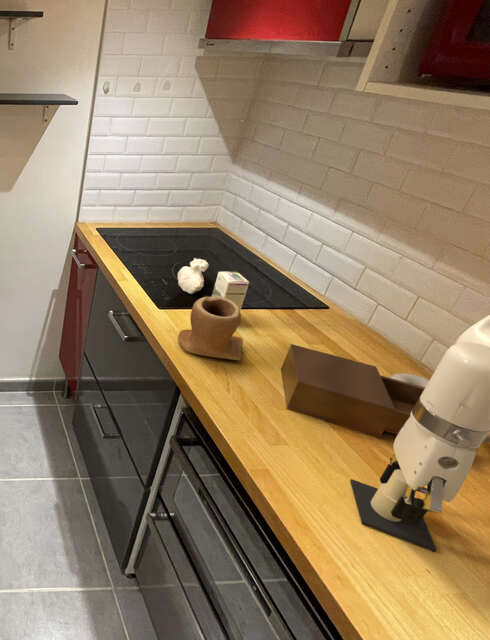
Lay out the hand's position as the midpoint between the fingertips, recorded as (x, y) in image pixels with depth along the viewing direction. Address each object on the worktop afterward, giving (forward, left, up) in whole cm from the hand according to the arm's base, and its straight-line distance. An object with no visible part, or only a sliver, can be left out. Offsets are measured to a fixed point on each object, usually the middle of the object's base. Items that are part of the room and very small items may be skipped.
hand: (397, 501), depth 73 cm
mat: (0, 0, -3) cm, 3 cm away
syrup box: (+26, -50, -3) cm, 56 cm away
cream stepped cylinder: (+1, 0, -3) cm, 3 cm away
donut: (-13, -39, -3) cm, 41 cm away
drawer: (-9, -27, -2) cm, 28 cm away
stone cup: (+28, -33, -3) cm, 43 cm away
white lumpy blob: (+35, -66, -3) cm, 75 cm away
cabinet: (+5, -27, -3) cm, 28 cm away
